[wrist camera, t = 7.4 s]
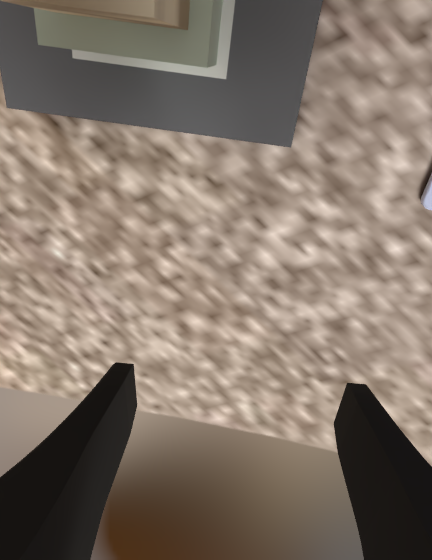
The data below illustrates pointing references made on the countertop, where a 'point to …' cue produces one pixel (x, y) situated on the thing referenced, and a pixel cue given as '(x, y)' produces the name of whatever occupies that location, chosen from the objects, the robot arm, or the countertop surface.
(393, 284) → the countertop surface
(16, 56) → the mat
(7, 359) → the countertop surface
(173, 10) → the birch block
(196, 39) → the sage block
